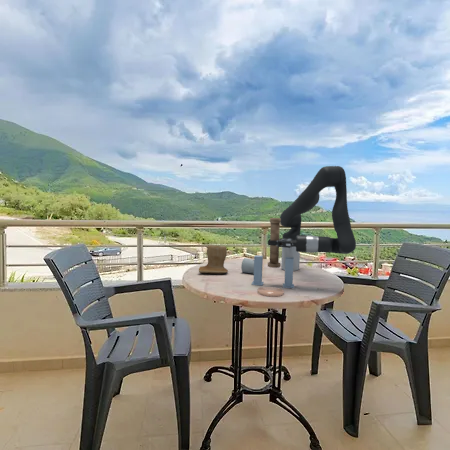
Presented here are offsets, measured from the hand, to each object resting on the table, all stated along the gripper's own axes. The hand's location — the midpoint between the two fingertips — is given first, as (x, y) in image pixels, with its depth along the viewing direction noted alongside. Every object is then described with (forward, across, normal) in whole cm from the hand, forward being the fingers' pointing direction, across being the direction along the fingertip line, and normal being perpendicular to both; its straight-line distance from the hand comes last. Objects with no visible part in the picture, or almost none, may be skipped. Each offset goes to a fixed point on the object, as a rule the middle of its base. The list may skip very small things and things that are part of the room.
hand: (268, 242), depth 148 cm
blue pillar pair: (-3, 0, +20) cm, 20 cm away
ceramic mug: (+11, -23, +20) cm, 33 cm away
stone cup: (+30, -16, +20) cm, 39 cm away
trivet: (-2, +13, +20) cm, 24 cm away
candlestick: (-3, 0, +11) cm, 11 cm away
